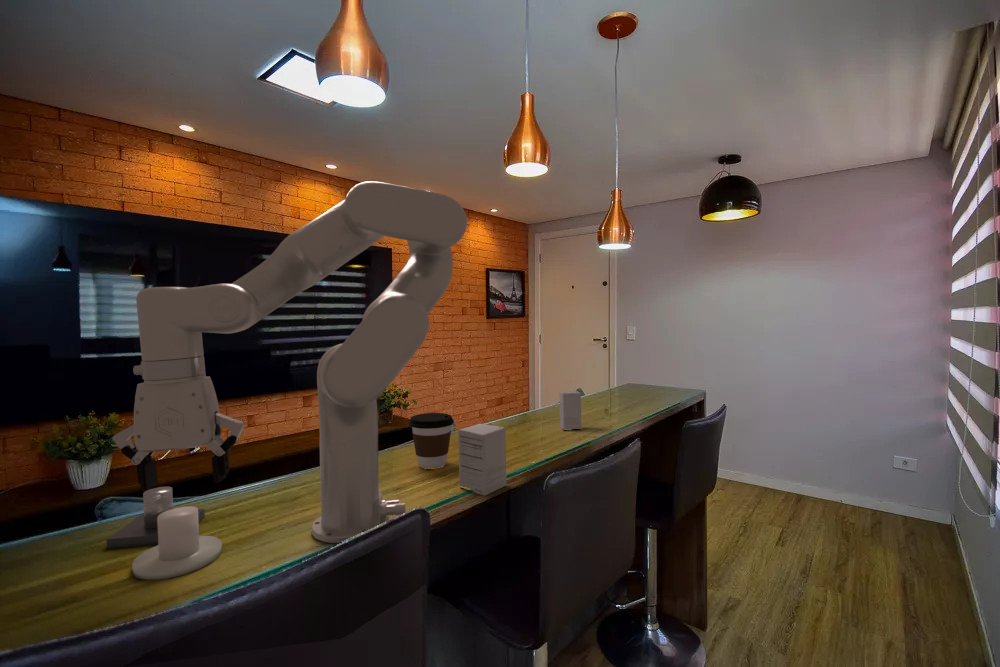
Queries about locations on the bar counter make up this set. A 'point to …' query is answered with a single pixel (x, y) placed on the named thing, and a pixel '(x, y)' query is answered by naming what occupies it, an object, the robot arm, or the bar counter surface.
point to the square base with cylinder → (146, 520)
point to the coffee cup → (431, 438)
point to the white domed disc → (155, 569)
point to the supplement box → (482, 458)
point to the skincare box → (570, 410)
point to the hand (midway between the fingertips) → (185, 483)
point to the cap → (178, 533)
